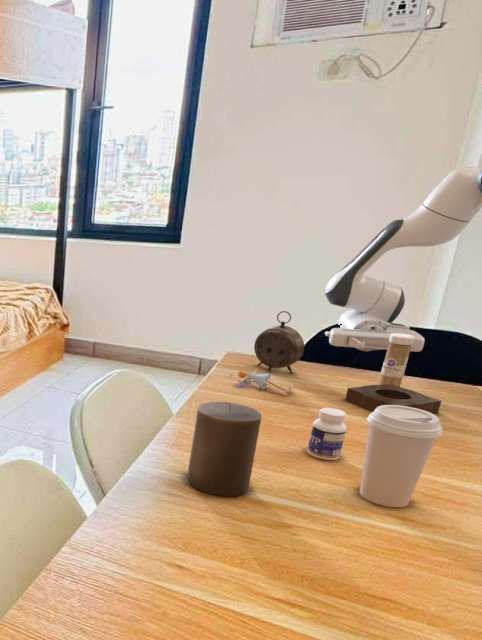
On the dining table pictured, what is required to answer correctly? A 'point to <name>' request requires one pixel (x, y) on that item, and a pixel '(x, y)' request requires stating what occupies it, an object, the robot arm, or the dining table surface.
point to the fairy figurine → (263, 382)
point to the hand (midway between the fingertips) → (383, 347)
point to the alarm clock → (279, 346)
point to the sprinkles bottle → (396, 359)
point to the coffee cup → (396, 453)
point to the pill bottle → (327, 434)
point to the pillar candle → (223, 448)
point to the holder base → (391, 397)
